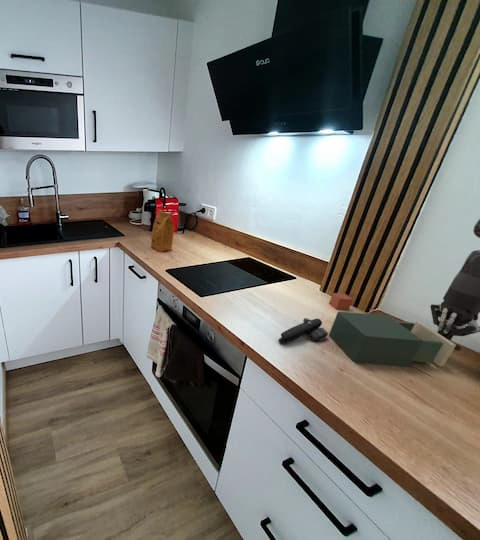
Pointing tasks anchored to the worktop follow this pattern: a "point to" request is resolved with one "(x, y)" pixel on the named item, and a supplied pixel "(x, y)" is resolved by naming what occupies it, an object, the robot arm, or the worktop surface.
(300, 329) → the can opener
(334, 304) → the block
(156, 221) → the coffee package
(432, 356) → the drawer
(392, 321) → the cabinet
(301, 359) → the worktop surface
